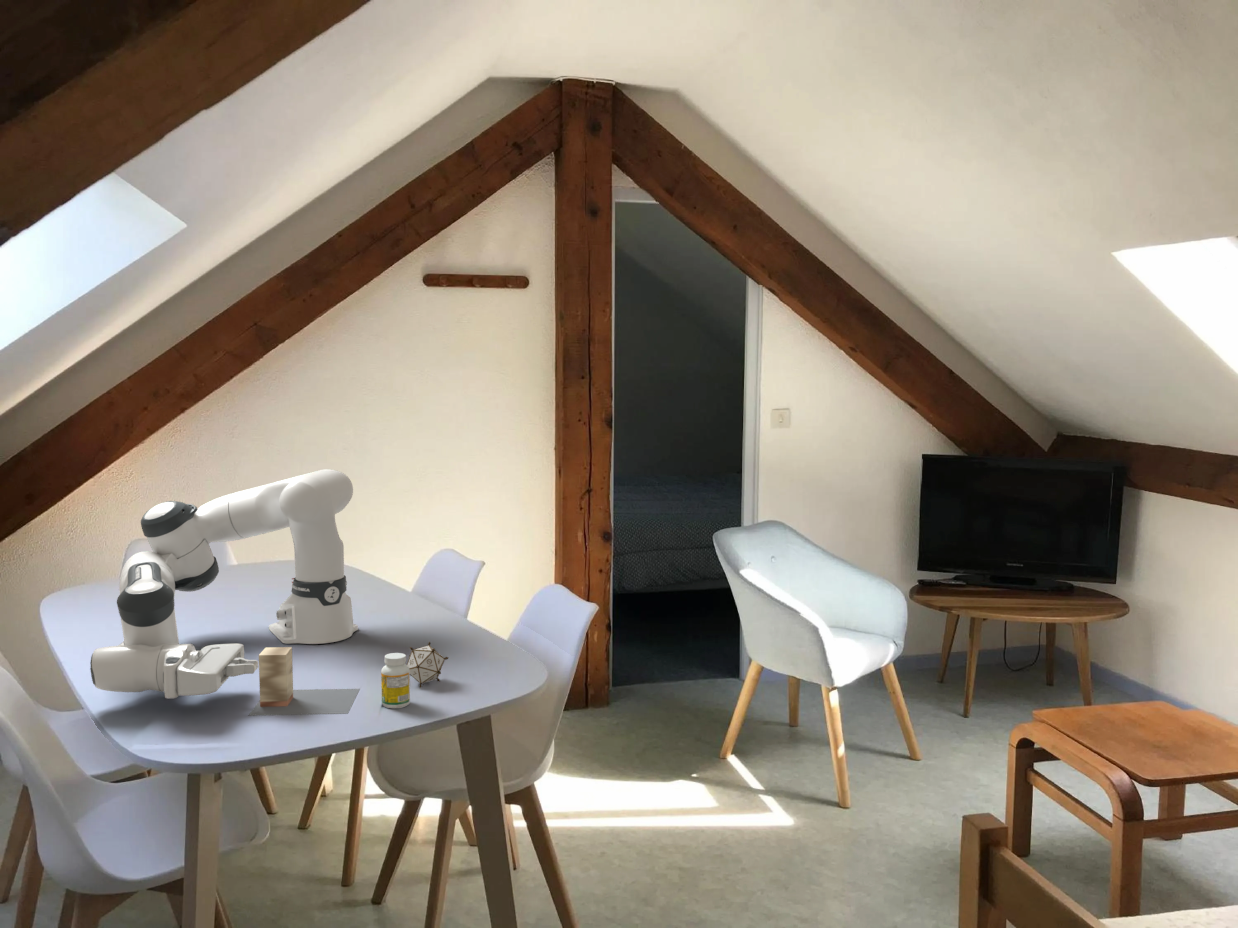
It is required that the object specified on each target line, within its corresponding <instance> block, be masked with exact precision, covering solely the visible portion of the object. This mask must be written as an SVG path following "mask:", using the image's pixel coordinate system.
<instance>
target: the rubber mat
mask: <svg viewBox="0 0 1238 928" xmlns="http://www.w3.org/2000/svg"><path fill="white" fill-rule="evenodd" d="M360 690H361V689H360V688H325V689H324V688H321V689H319V688H318V689H293V699H292V700H291V702H290V703H289V705H288V706H274V707H260V699H259V700H258V702H257V703H256V704H255V705H254V707H253V708H252V710H251V711H250V713H249V714H248V716H250V717H251V716H253V717H254V716H290V715H291V716H295V715H296V716H298V715H300V716H301V715H305V716H306V715H308V716H309V715H344V714H345V715H347V714H349V712H350V710H351V708H352V706H353V704H354V702H355V699H356V698H357V695H358V694H359V692H360Z"/></svg>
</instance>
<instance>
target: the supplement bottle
mask: <svg viewBox="0 0 1238 928" xmlns="http://www.w3.org/2000/svg"><path fill="white" fill-rule="evenodd" d="M406 662H407V655H406V654H405V653H402V652H391V653H386V654H385V655H384V664H385V665H384V666H383V667H382V668H381V672H380V673H381V674H380V675H381V676H380V679H381V680H380V681H381V683H380V684H381V685H380V687H381V704H382V706H383V707H385V708H387V709H402V708H405V707H407V706H409V705H410V703H411V683H410V679H411V678H410V677H411V675H410V669H409V667H408V666H407V663H406Z"/></svg>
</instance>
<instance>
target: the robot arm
mask: <svg viewBox="0 0 1238 928" xmlns="http://www.w3.org/2000/svg"><path fill="white" fill-rule="evenodd" d="M353 494H354V487H353V483H352V481H351V478H349V476H348V475H347V474H346V473H344V472H342V471H339V470H336V469H329V468H324V469H319V470H315V471H313V472H308V473H305V474H301V475H296V476H293V477H289V478H286V479H282V480H277V481H275V482H271V483H266V484H262V485H259V486H254V487H251V488H247V489H244V490H243V489H242V490H239V491H236V492H233V493H232V492H231V493H228V494H226V495H225V494H224V495H222V496H220V497H216V498H214V499H212V500H210V501H207V502H206V503H204V504H202V505H200V506H199V507H197V506H196V505H194V504H192V503H185V502H182V501H177V500H176V501H175V500H167V501H163V502H161V503H159V504H155V506H152V507H150V509H148V510H147V511H146V512H145V513H144V514H143V516H142V518H141V520H140V527H141V530H142V533H143V535H144V537H146V539H147V542H148V544H149V546H150V548H151V550H152V551H151V550H147V551H146V550H143V551H140V552H136V553H134V554H133V555H131V556H130V557H129V558H128V559H127V560H126V562H124V565H123V567H122V569H121V573H120V576H119V584H118V585H119V586H118V587H119V589H118V591H119V595H118V597H117V598H116V605H117V610H118V615H119V617H120V622H121V624H120V625H121V629H122V637H123V641H122V642H121V643H120V644H118V645H111V646H110V645H109V646H104V647H103V646H102V647H98V648H95V649H94V650H93V652H92V654H91V656H90V669H89V670H90V676H91V681H92V683H93V685H94V687H95V688H97V689H99V690H101V691H107V692H115V693H116V692H117V693H140V692H141V693H142V692H145V691H156V692H160V693H161V692H162V693H164V698H165V699H177V698H178V697H179V696H183V697H189V696H200V695H203V696H204V695H209V694H213V693H215V692H218V691H219V689H220V688H221V687H222V686H223V684H224V683H225V682H226V681H227V680H228V679H229V678H230V677H237V676H242V675H250V674H251V675H253V674H254V673H255V672H256V671H257V670H258V669H259V660H258V659H248V658H247V659H246V658H245V646H244V644H242V643H220V644H219V643H218V644H210V645H206V646H204V647H202V648H201V649H200V650H196V647H195V645H193V644H192V643H180V641H179V633H178V626H177V618H176V617H177V616H176V609H175V596H176V591H179V592H189V593H190V592H195V591H200V590H202V589H204V588H206V587H208V586H209V585H210V584H212V583H213V582H214V581H215V580H216V578H217V576H218V574H219V572H220V568H219V564H218V561H217V558H216V557H215V556H214V553H213V551H212V549H211V546H210V544H211V543H226V542H234V541H240V540H245V539H248V538H252V537H255V536H259V535H264V534H267V533H268V534H269V533H272V532H276V531H280V530H283V529H286V528H290V529H289V530H290V534H291V537H292V542H293V543H292V544H293V550H294V552H293V553H294V576H295V577H292V578H291V580H293V581H291V591H290V592H291V594H290V595H289V596H288V597H287V598H286V599H285V600H284V601H283V602H282V603H281V604H280V605H279V610H276V612H275V613H276V616H275V617H276V619H277V620H278V621H276V622H273V623H271V624H269V625H268V630H269V631H270V632H271V633H272V634H273V635H274V636H275V637H276V638H277V639H278V640H279V641H280V642H281V643H283V644H305V645H306V644H307V645H318V644H329V643H334V642H335V643H336V642H340V641H343V640H347V639H349V638H350V637H352V636H353V633H354V632H357V631H358V630H359V625H358V624H355V623H354V617H353V616H354V615H353V608H352V607H353V606H352V597H351V596H349V595H348V594H347V593H346V592H347V584H348V582H347V577H346V575H345V558H344V556H345V551H344V550H345V549H344V548H345V547H344V543H343V540H342V539H341V537H340V535H339V531H338V528H337V523H336V514H338V513H340V512H342V511H343V510H344V509H345V508H346V507H347V506H348V505H349V503H350V501H351V500H352V498H353Z"/></svg>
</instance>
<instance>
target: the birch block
mask: <svg viewBox="0 0 1238 928" xmlns="http://www.w3.org/2000/svg"><path fill="white" fill-rule="evenodd" d="M293 669H294V668H293V647H292V646H285V647H283V646H280V647H278V646H277V647H275V646H274V647H270V646H269V647H264V649H263V650H262V651H261V652H260V653H259V654H258V675H259V676H258V677H259V700H260V707H274V706H288V705H289V703H290V702H291V700H292V699H293V690H294V679H293V678H294V677H293V676H294V674H293V672H294V671H293Z"/></svg>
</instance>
